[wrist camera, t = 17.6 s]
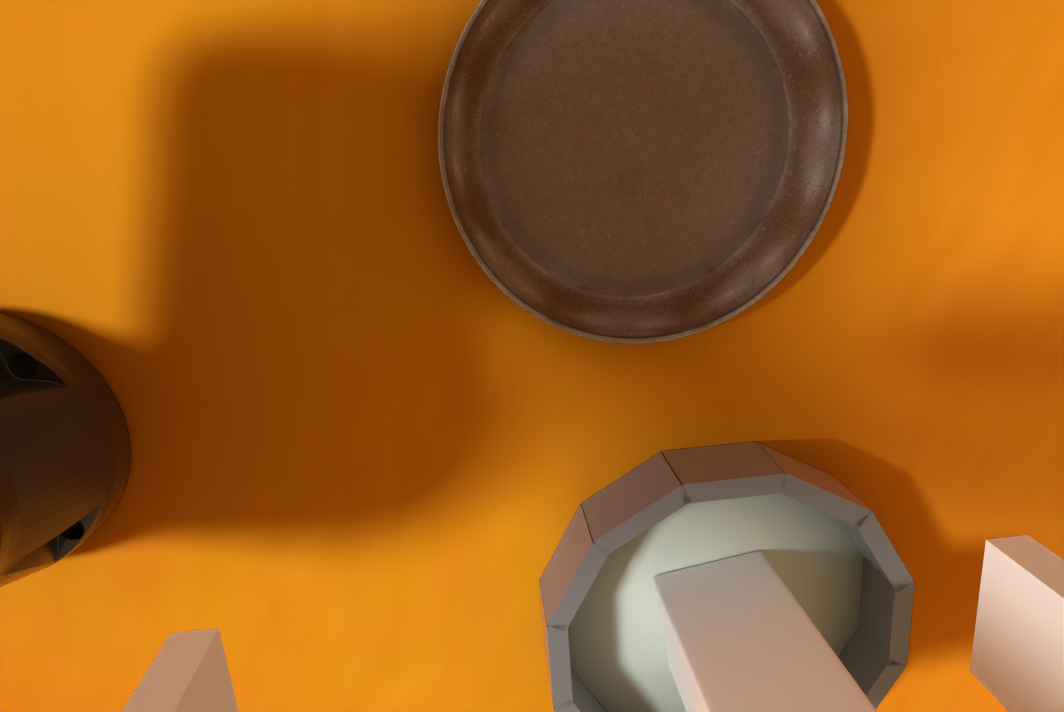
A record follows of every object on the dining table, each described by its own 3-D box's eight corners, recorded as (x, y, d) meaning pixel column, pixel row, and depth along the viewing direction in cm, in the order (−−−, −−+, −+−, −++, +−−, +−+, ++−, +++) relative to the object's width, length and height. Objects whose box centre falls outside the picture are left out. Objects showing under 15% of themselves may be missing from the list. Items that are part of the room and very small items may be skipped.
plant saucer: (612, 399, 42) (624, 420, 39) (357, 132, 37) (346, 130, 33) (888, 157, 39) (925, 157, 36) (657, -170, 34) (676, -203, 31)
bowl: (554, 754, 49) (561, 812, 44) (529, 464, 42) (536, 500, 38) (860, 714, 50) (897, 767, 46) (881, 428, 44) (926, 458, 39)
